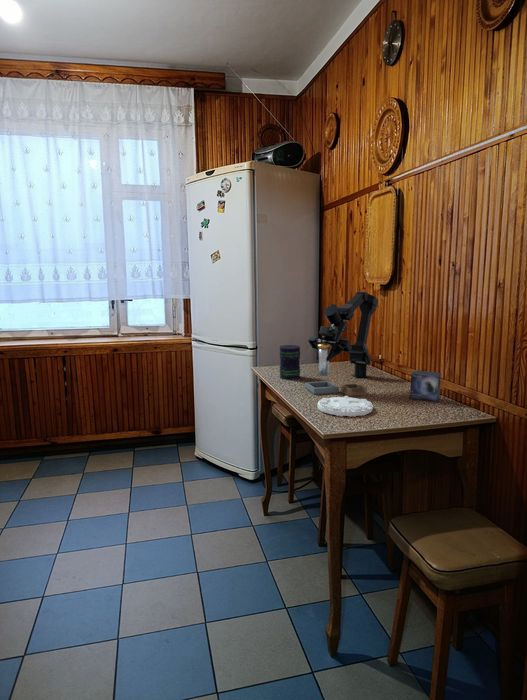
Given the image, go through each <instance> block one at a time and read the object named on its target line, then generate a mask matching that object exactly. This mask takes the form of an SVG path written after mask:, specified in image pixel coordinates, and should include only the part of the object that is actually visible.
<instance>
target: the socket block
mask: <svg viewBox="0 0 527 700" xmlns="http://www.w3.org/2000/svg"><path fill="white" fill-rule="evenodd" d="M340 393H343V394H344V395H345V396H348V397H355V396H367V394H368V387H367V386H364V385H362V384H360V383H358V382H357V383H345V384H340Z"/></svg>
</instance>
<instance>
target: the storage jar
mask: <svg viewBox="0 0 527 700" xmlns="http://www.w3.org/2000/svg"><path fill="white" fill-rule="evenodd" d="M279 359H280V360H279V363H280V364H279V379H281V380H289V381H293V380H298V379H301V376H300V374H301V365H300V359H301V346H300V345H296V344H295V345H293V344H289V345H288V344H286V345H281V346H279Z"/></svg>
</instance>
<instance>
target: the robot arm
mask: <svg viewBox="0 0 527 700" xmlns="http://www.w3.org/2000/svg"><path fill="white" fill-rule="evenodd" d="M378 305H379V299H378V298H377V297H376V296H375V295H373V294H370V293H368V292H366V291H357V292H355V294H354V296H353V297H352V298H351V299H349V300H348V301H347V302H346V303H345V304H341V305H339V306H337V305H336V304H335V303H334V304H333V303H331V305H329V306H327V307H326V308H325V309H324V310H323V314H324V316H325V318H326V320H327V322H328V323H329V324H330V326H323V325H321V326H320V329H319V332H318V333H319V335H321V336H322V339H320V337H319V336H309V338H308V340H307V341H308V343H309V345H310V347H311V348H312V349H314V350H316V360H317V361H319V347H318V344H323V343H325V344H331V347H330V348H331V349H329V355H328V357H327V361H329V362H330V361H331V360H332V359H334V358H335V357H337V356H338V355H339V354H342V353H343V352H344V353H349V355H348V356H349V362H350V364H354V368H353V369H354V370H353V371H354V372H353V373H352V374H351V376H352V377H354V378H357V379H362V378H370V376H369V375H368V374H367V367H368V366H370V365H371V364H372V358H371V357H370V354H369V348H368V346H367V344H368V343H367V342H368V336H369V331H370V326H371V325H370V324H371V320H372V315H373V314H375V312H376V311H377V308H378ZM358 308H359V310H360V313H361V314H360V318H359V319H360V320H359V325H358V329H357V336H356V339H355V343H353V344H351V342H350V341H349V339H346V338H343V337H342V334H343V332H344V331H345V330H347V329H348V326H347V323H346V322H350V321H351V320H352V319H353V317H354V316H355V314H354V313H355V311H356V310H357V309H358Z"/></svg>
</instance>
